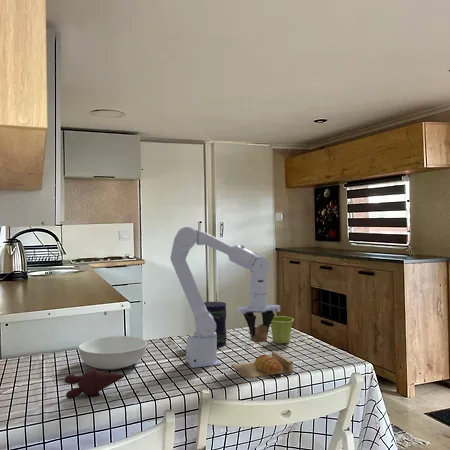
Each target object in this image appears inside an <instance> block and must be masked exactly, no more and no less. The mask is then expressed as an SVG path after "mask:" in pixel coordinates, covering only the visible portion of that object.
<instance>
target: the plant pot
mask: <svg viewBox="0 0 450 450" xmlns="http://www.w3.org/2000/svg"><path fill="white" fill-rule="evenodd" d="M294 321H295V319H294V318H292V317H290V316H285V315H282V316H274V318H273V319H272V321H271V324H270V327H271V328H270V329H271V334H272V342H273V343H275V344H279V345H282V344H289V343H290V341H291V340H290V339H291V332H292V327H293V326H292V325H293V322H294Z"/></svg>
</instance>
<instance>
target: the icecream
mask: <svg viewBox="0 0 450 450" xmlns="http://www.w3.org/2000/svg"><path fill="white" fill-rule="evenodd" d="M123 378H125V375H124V374H119V373H111V372H105V371H97V368H95V367H94V368H92V369H90V370H87V371H86V372H84V373H83V374H82V375H81V376H80V375H76V374H74V373H72V374H68V375H66V376H65V377H64V380H63V381H64V382H65V383H66V384H69V385H75V384H77V387H75V388H71V389H70V390H68V391H67V392H66V393H65V397H66V398H67V399H73V398H76V397H79V395H81V394H82V393H83V394H84V395H87V396H96V395H98V396H99V395H100V392H101V391H102V390H104V389H106V388H108V387H109V386H111V385H113V384H115V383H117V382H118V381H120V380H122V379H123Z"/></svg>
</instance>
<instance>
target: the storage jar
mask: <svg viewBox="0 0 450 450" xmlns="http://www.w3.org/2000/svg"><path fill="white" fill-rule="evenodd" d="M203 302H204V301H203ZM204 304H205V307H206V309H207V311H208V312H209V313H210V314H212V316H213V318H214V321H215V323H216V331H215V332H216V333H217V348H222V347H225V346H226V345H227V329H226V326H227V325H226V321H227V303H226V302H223V301H205V302H204Z"/></svg>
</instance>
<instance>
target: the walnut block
mask: <svg viewBox="0 0 450 450" xmlns="http://www.w3.org/2000/svg"><path fill="white" fill-rule="evenodd" d="M250 340H251V341H252V342H254V343H255V344H258V343H267V342H268V335H267V326H266V325H264V324H263V323H255V336H251V335H250Z"/></svg>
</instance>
